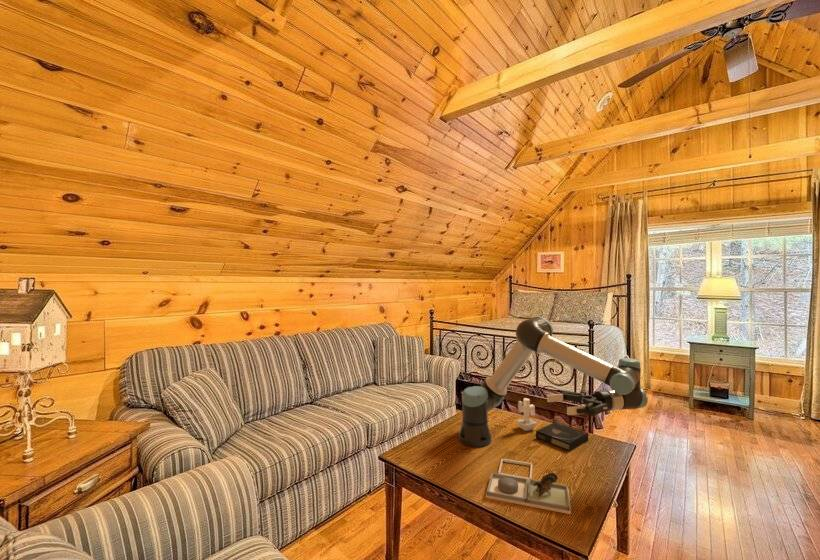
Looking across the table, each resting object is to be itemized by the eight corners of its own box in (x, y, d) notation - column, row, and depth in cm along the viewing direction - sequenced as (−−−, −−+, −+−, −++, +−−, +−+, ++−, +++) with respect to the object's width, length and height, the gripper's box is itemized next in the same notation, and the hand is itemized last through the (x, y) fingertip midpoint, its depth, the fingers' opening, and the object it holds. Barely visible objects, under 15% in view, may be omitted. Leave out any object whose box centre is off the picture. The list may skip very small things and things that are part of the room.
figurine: (539, 429, 188) (539, 399, 187) (524, 433, 184) (524, 402, 184) (528, 424, 194) (528, 395, 194) (514, 427, 191) (514, 398, 190)
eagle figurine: (556, 500, 127) (563, 483, 134) (543, 480, 129) (550, 464, 136) (537, 504, 132) (545, 487, 139) (525, 485, 133) (533, 469, 140)
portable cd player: (535, 439, 178) (535, 431, 178) (555, 429, 189) (555, 421, 189) (568, 452, 166) (568, 443, 165) (588, 441, 176) (588, 432, 176)
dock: (485, 497, 133) (485, 489, 133) (490, 477, 145) (490, 470, 145) (570, 514, 124) (570, 505, 124) (568, 491, 136) (568, 483, 136)
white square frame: (497, 475, 147) (497, 473, 147) (501, 460, 158) (501, 458, 158) (531, 481, 143) (531, 479, 143) (532, 465, 154) (532, 463, 154)
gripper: (630, 422, 136) (576, 427, 133) (586, 399, 161) (540, 402, 157) (631, 402, 136) (577, 406, 132) (586, 381, 161) (540, 384, 157)
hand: (556, 404), depth 145 cm, fingers open, 13 cm apart
